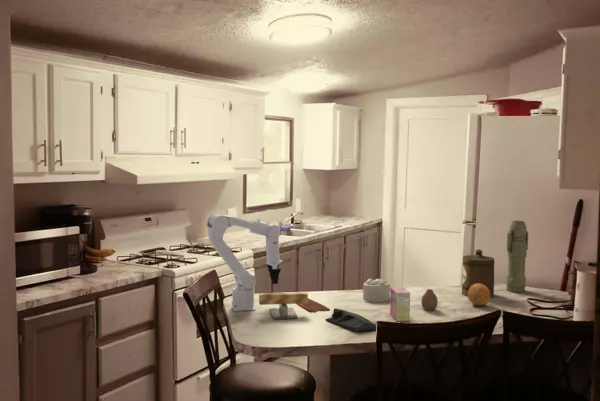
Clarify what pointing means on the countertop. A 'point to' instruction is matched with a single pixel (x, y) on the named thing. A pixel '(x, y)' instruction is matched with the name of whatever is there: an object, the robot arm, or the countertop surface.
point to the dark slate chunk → (351, 320)
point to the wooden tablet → (313, 306)
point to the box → (400, 303)
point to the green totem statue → (517, 256)
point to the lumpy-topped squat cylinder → (376, 290)
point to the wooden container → (478, 272)
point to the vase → (429, 300)
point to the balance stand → (283, 313)
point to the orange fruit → (479, 294)
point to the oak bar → (283, 298)
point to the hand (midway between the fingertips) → (274, 281)
